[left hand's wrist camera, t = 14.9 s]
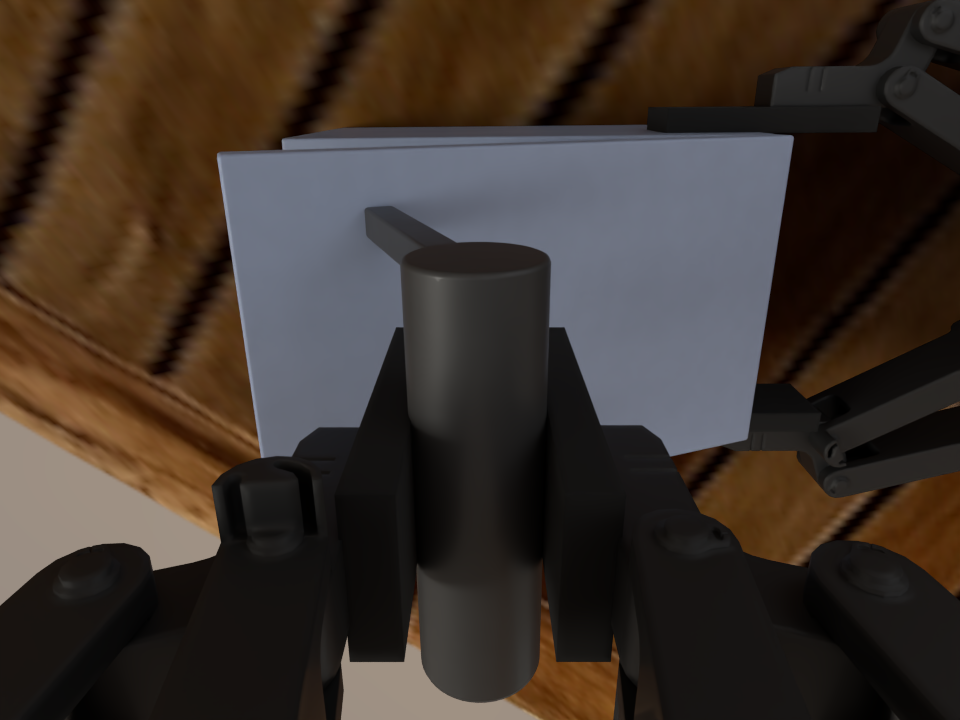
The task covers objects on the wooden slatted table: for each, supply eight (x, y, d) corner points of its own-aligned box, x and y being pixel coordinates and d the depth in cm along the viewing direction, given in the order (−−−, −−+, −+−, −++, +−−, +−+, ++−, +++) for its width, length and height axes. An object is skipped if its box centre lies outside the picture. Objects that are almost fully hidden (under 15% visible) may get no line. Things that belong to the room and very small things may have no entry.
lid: (271, 525, 18) (311, 815, 11) (216, 151, 14) (220, 200, 7) (730, 429, 23) (973, 582, 16) (772, 134, 19) (1112, 152, 12)
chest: (359, 344, 31) (313, 429, 23) (341, 128, 28) (280, 138, 20) (670, 343, 31) (734, 428, 23) (692, 124, 28) (777, 133, 20)
